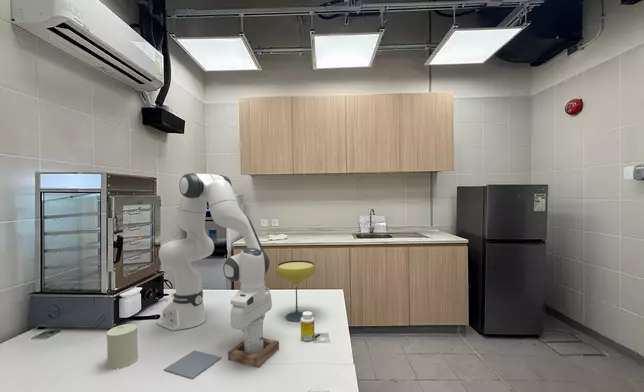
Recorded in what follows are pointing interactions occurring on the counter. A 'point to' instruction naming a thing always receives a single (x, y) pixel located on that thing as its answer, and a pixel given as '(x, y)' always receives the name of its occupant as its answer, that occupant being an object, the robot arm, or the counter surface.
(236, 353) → the walnut collar
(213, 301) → the counter surface
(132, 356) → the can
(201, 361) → the slate mat
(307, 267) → the cocktail glass
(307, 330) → the supplement bottle
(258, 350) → the skincare box
